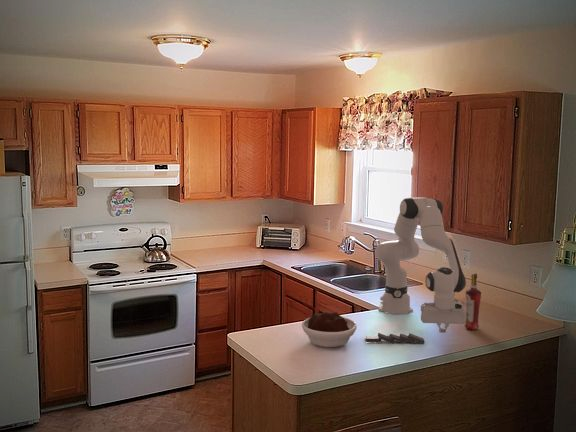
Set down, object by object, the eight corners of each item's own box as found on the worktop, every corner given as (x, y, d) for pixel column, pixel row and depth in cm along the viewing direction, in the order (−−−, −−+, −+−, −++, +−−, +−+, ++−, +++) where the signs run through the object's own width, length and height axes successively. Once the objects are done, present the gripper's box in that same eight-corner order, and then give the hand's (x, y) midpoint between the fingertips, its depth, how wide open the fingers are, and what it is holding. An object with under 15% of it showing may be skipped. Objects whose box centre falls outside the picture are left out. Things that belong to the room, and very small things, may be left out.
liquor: (460, 327, 298) (463, 272, 294) (472, 325, 300) (475, 271, 296) (470, 331, 291) (473, 276, 287) (482, 330, 293) (485, 274, 290)
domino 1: (379, 341, 278) (364, 341, 278) (379, 338, 278) (364, 338, 278) (380, 344, 274) (365, 344, 274) (380, 341, 274) (365, 341, 274)
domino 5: (413, 340, 277) (399, 335, 277) (414, 338, 277) (400, 333, 277) (414, 343, 273) (400, 338, 273) (415, 341, 273) (401, 336, 273)
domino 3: (390, 339, 277) (377, 335, 276) (391, 337, 277) (378, 332, 276) (393, 343, 273) (380, 339, 272) (394, 340, 273) (381, 336, 272)
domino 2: (380, 338, 278) (365, 338, 278) (380, 335, 277) (365, 335, 278) (381, 341, 274) (366, 341, 274) (381, 338, 273) (366, 338, 274)
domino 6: (422, 341, 277) (408, 335, 277) (423, 338, 277) (409, 333, 277) (423, 344, 273) (409, 338, 273) (424, 341, 273) (410, 336, 273)
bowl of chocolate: (322, 331, 290) (323, 301, 288) (366, 342, 274) (367, 311, 272) (290, 344, 271) (291, 312, 269) (335, 357, 255) (336, 324, 253)
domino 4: (403, 340, 277) (389, 336, 277) (404, 337, 277) (390, 333, 277) (405, 343, 273) (390, 339, 273) (406, 340, 273) (391, 336, 273)
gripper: (422, 304, 269) (421, 333, 271) (467, 305, 268) (466, 335, 270) (419, 300, 275) (418, 329, 277) (464, 301, 274) (462, 330, 276)
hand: (442, 332), depth 274 cm, fingers closed
